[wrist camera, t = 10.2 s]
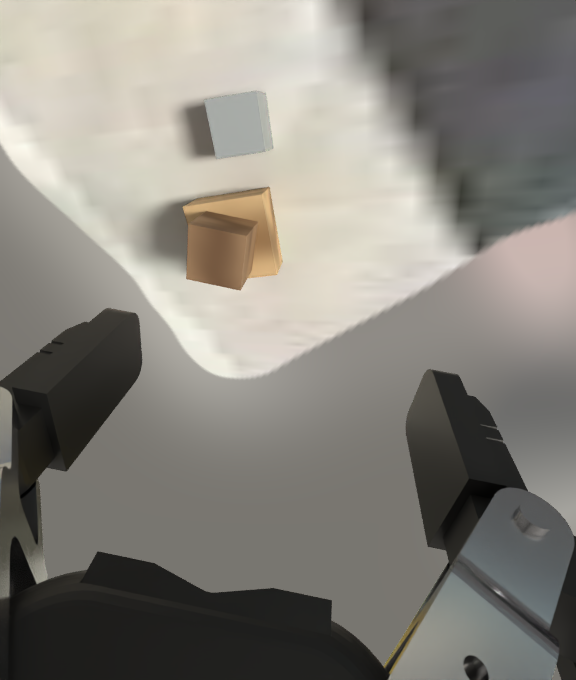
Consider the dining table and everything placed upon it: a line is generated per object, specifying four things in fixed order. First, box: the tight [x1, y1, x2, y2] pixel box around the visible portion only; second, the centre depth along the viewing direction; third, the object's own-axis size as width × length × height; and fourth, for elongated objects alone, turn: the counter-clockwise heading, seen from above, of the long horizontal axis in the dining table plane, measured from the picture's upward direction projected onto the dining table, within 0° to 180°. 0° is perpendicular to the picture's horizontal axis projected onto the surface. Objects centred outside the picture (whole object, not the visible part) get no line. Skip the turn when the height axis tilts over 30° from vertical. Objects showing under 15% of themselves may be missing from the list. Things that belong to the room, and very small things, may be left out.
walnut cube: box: [186, 211, 258, 290], centre depth 32 cm, size 4×4×4 cm
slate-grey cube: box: [204, 91, 273, 159], centre depth 30 cm, size 4×4×4 cm
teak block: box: [183, 187, 283, 278], centre depth 35 cm, size 7×7×4 cm
